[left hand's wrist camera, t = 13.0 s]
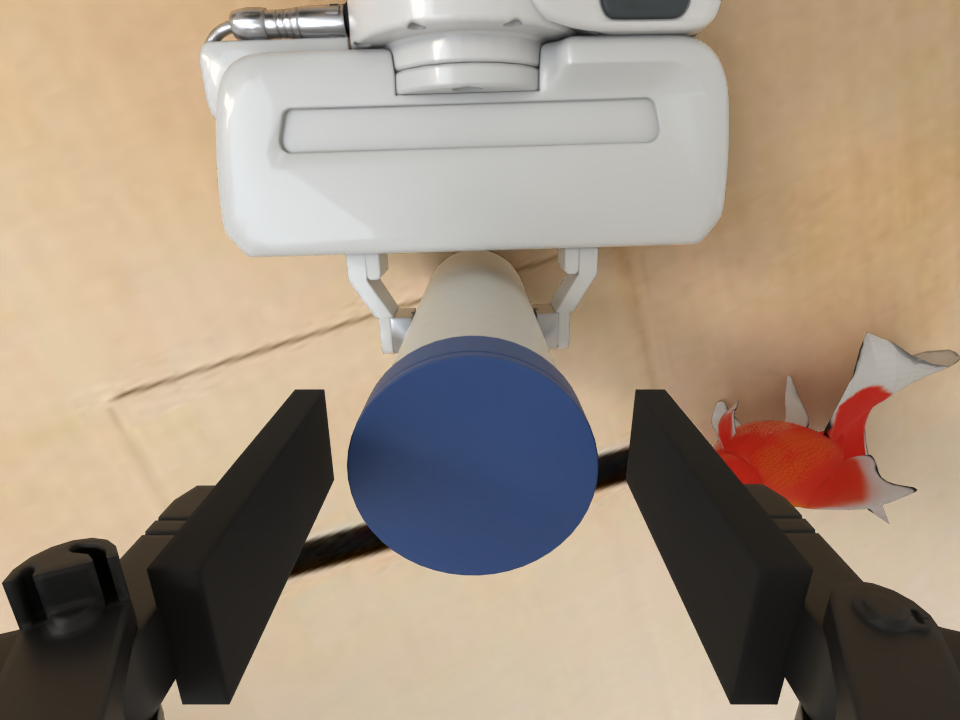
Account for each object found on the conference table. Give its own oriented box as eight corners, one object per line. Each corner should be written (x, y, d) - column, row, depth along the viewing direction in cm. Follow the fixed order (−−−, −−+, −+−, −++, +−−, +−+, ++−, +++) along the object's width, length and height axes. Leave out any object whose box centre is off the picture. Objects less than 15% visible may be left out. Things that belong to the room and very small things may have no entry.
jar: (511, 353, 31) (552, 573, 14) (418, 334, 31) (346, 537, 14) (534, 261, 30) (614, 385, 12) (436, 239, 29) (378, 337, 12)
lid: (552, 551, 15) (561, 593, 14) (347, 514, 15) (332, 554, 13) (613, 361, 14) (631, 385, 12) (379, 312, 13) (366, 331, 12)
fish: (659, 349, 26) (857, 485, 19) (859, 257, 32) (1074, 338, 24) (637, 486, 33) (779, 626, 26) (806, 392, 38) (962, 487, 31)
